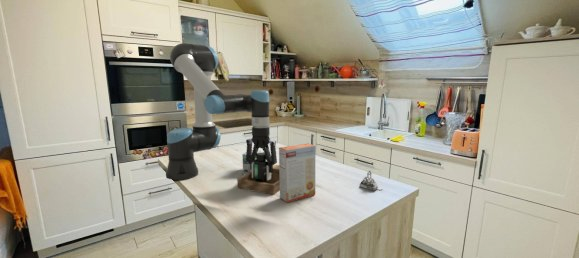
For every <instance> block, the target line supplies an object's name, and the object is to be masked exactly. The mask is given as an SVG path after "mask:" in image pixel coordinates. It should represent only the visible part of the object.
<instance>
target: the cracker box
mask: <svg viewBox="0 0 579 258" xmlns="http://www.w3.org/2000/svg"><path fill="white" fill-rule="evenodd" d="M278 163H279V164H278V165H279V177H280V190H279V198H280V199H281V200H282V201H284V202H285V203H290V202H294V201H298V200H301V199H302V200H303V199H305V198H309V197H312V196H316V145H314V144H311V143H302V144H294V145H289V146H288V145H287V146H282V147H281V146H280V147H278Z"/></svg>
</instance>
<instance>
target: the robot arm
mask: <svg viewBox="0 0 579 258" xmlns="http://www.w3.org/2000/svg"><path fill="white" fill-rule="evenodd" d="M169 60H170V62H171V65H172V66H173V68H174V69H175V71H176V72H178V73H181V74H182V75H183V76H184V77H185V78H186V79H187V81H188V82H189V83H190V84H191V86H192V87H193V95H194V96H193V97H194V117H195V119H194V121H195V122H194V123H193V124H192V127H189V126H188V127H178V128H175V129H172V130H170V131H169V132H168V133H167V134H166V137H167V138H166V142H167V153H168V155H167V156H168V165H167V169H166V170H165V178H166V179H169V180H173V181H174V180H175V181H177V180H188V179H191V178H194V177H196V176H197V175H199V168H198V167H197V164H196V160H195V157H194V156H195V155H194V153H197V152H202V151H203V152H204V151H209V150H213V149H215V148H216V147H218V146H219V144H220V143H221V142H220V141H221V136H222V135H221V131H220V129H219V128H218V127H217V126H216V124H215V123H214V121H213V115H222V114H232V113H244V112H245V113H246V112H247V113H248V112H250V113H251V126H252V127H251V136H252V137H251V138H247V139H246V140H245V141H246V151H245V152H246V161H248V162H250V170H252V178H254V161H255V158H256V154H257V152H258V150H260V149H262V151H263V153H265V156H266V159H267V162H268V165H267V180H270V179H271V172H273V165H277V163H278V160H277V149H276V146H277V145H276V144H277V141H276V140H272V139H271V138H270V131H271V130H270V127H269V126H270V93H269V91H268V90H265V89H264V90H263V89H261V90H255V89H254V90H251V92H250V94H242V93H241V94H224V92H223V91H222V90H221V89H220V88H219V87H218V86H217V85H216V84H215V83H214V82H213V80H212V75H213V74H214V73H215V71H214V70H216V69H217V67H218V65H219V56H218V54H217V51H216V50H215V49H214V47H211V46H207V45H202V44H194V43H187V42H181V43H178V44H177V45H175V46H173V48H172V49H171V51H170V53H169ZM252 150H253V152H252ZM251 154H252V155H251Z"/></svg>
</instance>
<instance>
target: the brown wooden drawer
mask: <svg viewBox="0 0 579 258" xmlns="http://www.w3.org/2000/svg"><path fill="white" fill-rule="evenodd" d="M236 180H237V181H236V182H237V183H236V185H237V189H242V190H245V191H251V192H257V193H263V194H269V195H276V194H277V193H278V192H280V177H279V175H272V174H271V179H270V180H269V181H267V182H263V183H262V182H256V181H255V180H254V178H252V172H250V173H248V174H246V175H243V176H241V177H239V178H237V179H236Z"/></svg>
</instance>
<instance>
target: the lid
mask: <svg viewBox="0 0 579 258" xmlns="http://www.w3.org/2000/svg"><path fill="white" fill-rule="evenodd" d="M251 172H252V170H251ZM271 174H272V175H279V164H274V165H273V172H271Z"/></svg>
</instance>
